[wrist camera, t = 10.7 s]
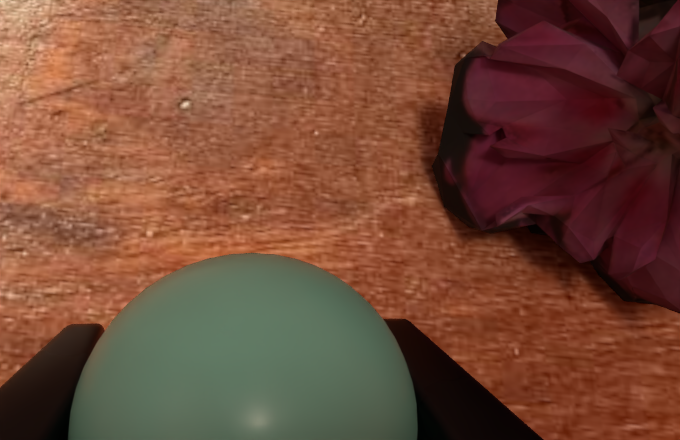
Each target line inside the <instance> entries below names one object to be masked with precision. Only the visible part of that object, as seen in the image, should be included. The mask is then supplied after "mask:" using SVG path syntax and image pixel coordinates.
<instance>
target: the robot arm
mask: <svg viewBox="0 0 680 440" xmlns="http://www.w3.org/2000/svg"><path fill="white" fill-rule="evenodd" d="M383 320H384V321H385V323H386V324H387V326H388V327H389V329H390V331H391V332H392V334H393V335H394V337H395V339H396V341H397V343H398V345H399V347H400V349H401V352H402V354H403V356H404V358H405V361H406V363H407V367H408V370H409V373H410V376H411V379H412V382H413V387H414V393H415V398H416V404H417V424H418V431H417V440H543V439H542V438H541V437H540V436H539V435H538V434H536V433H535V432H534V431H533V430H532V429H531V428H530V427H528V426H527V425H526V424H525V423H524V422H523V421H522V420H521V419H519V418H518V417H517V416H516V415H515V414H514V413H513V412H512V411H510V410H509V409H508V408H507V407H506V406H505V405H504V404H502V403H501V402H500V401H499V400H498V399H497V398H496V397H495V396H493V395H492V394H491V393H490V392H489V391H488V390H487V389H486V388H484V387H483V386H482V385H481V384H480V383H479V382H478V381H476V380H475V379H474V378H473V377H472V376H471V375H470V374H469V373H467V372H466V371H465V370H464V369H463V368H462V367H461V366H459V365H458V364H457V363H456V362H455V361H454V360H453V359H452V358H450V357H449V356H448V355H447V354H446V353H445V352H444V351H443V350H441V349H440V348H439V347H438V346H437V345H436V344H435V343H433V342H432V341H431V340H430V339H429V338H428V337H427V336H426V335H424V334H423V333H422V332H421V331H420V330H419V329H418V328H417V327H415V326H414V325H413V324H412V323H411V322H410V321H408V320H406V319H383ZM104 332H105V331H104V328H103V326H102V325H100V324H71V325H69V326H67V327H65V328H64V329H63V330H62V331H61V332H60V333H59V334H57V335H56V336H55V337H54V338H53V339H52V340H51V341H50V342H49V343H48V344H47V345H46V346H45V347H43V348H42V349H41V350H40V351H39V352H38V353H37V354H36V355H35V356H34V357H33V358H32V359H30V360H29V361H28V362H27V363H26V364H25V365H24V366H23V367H22V368H21V369H20V370H19V371H17V372H16V373H15V374H14V375H13V376H12V377H11V378H10V379H9V380H8V381H7V382H6V383H5V384H3V385H2V386H1V387H0V440H68V433H69V421H70V412H71V408H72V403H73V399H74V394H75V390H76V387H77V384H78V381H79V379H80V376H81V373H82V371H83V368H84V366H85V364H86V362H87V360H88V358H89V356H90V354H91V352H92V351H93V349H94V347H95V345H96V343H97V342H98V340H99V339H100V337H101V336H102V334H103V333H104Z"/></svg>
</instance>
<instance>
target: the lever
mask: <svg viewBox="0 0 680 440" xmlns="http://www.w3.org/2000/svg"><path fill="white" fill-rule="evenodd" d="M417 431H418V424H417V404H416V398H415V393H414V387H413V382H412V379H411V376H410V373H409V370H408V367H407V363H406V361H405V358H404V356H403V354H402V352H401V349H400V347H399V345H398V343H397V341H396V339H395V337H394V335H393V334H392V332H391V331H390V329H389V327H388V326H387V324H386V323H385V321H384V320H383V319H382V317H381V316H380V315H379V314H378V313H377V312H376V310H375V309H374V308H373V307H372V306H371V304H370V303H368V302H367V301H366V300H365V299H364V298H363V297H362V296H361V295H360V294H359V293H357V292H356V291H355V290H354V289H353V288H352V287H351V286H349V285H348V284H346V283H345V282H343V281H342V280H341V279H339V278H338V277H336V276H335V275H333V274H331V273H329V272H327V271H325V270H323V269H321V268H319V267H317V266H315V265H312V264H309V263H306V262H303V261H300V260H297V259H294V258H289V257H284V256H279V255H274V254H260V253H245V254H230V255H224V256H219V257H214V258H209V259H206V260H203V261H199V262H196V263H193V264H190V265H187V266H185V267H183V268H181V269H179V270H177V271H175V272H172V273H170V274H168V275H166V276H164V277H163V278H161V279H160V280H158V281H157V282H155V283H154V284H152V285H150V286H149V287H147V288H146V289H145V290H144V291H142V292H141V293H140V294H139V295H138V296H136V297H135V298H134V299H133V300H132V301H130V302H129V303H128V304H127V305H126V306H125V307H124V308H123V310H122V311H121V312H120V313H119V314H118V315H117V316H116V317H115V318H114V319H113V320H112V322H111V323H110V325H109V326H108V327H107V329H106V330H105V332H104V333H103V334H102V336H101V337H100V339H99V340H98V342H97V343H96V345H95V347H94V349H93V351H92V352H91V354H90V356H89V358H88V360H87V362H86V364H85V366H84V368H83V371H82V373H81V376H80V379H79V381H78V384H77V387H76V390H75V394H74V399H73V403H72V408H71V412H70V421H69V433H68V440H417Z"/></svg>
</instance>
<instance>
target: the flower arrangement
mask: <svg viewBox="0 0 680 440" xmlns="http://www.w3.org/2000/svg"><path fill="white" fill-rule="evenodd" d="M495 21H496V23H497V24H498V25H499V27H500V28H501V30H502V31H503V33H504V34H505V35H506V37H507V38H508V40H506V41H504V42H502V43H500V44H499V45H498V46H497V47H496V46H493V45H491V44H488V43H486V42H483V41H482V42H481V43H480V44H479V45H477V46H476V47H475V48H474V49H473V50H472V51H471V52H469V53H468V54H467V55H466V56H465V57H464V58H463V59H461V60H460V61H459V62H458V63H457V64H456V65H455V68H454V74H453V80H452V86H451V92H450V97H449V103H448V109H447V114H446V118H445V123H444V128H443V133H442V138H441V142H440V147H439V152H438V154H437V156H436V159H435V161H434V163H433V165H432V168H433V172H434V175H435V178H436V181H437V184H438V188H439V191H440V194H441V197H442V200H443V204H444V207H446V208H447V209H448V210H449V211H450V212H452V213H453V214H454V215H455V216H457V217H458V218H459V219H460V220H461V221H463V222H464V223H465V224H466V225H467V226H469V227H471V228H475V229H478V230H481V231H484V232H488V233H494V232H499V231H504V230H509V229H514V228H519V227H523V226H528V228H529V230H530V232H531V233H536V234H543V235H549V236H550V237H551V238H552V239H553V240H554V241H555V242H556V243H557V244H558V245H559V246H560V247H561V248H562V249H564V250H565V251H566V252H567V253H569V254H570V255H571V256H572V257H573V258H575V259H576V260H577V261H578V262H579V263H584V262H587V261H590V262H591V264H592V265H593V267H594V269H595V270H596V272H597V273H598V275H599V276H600V277H601V278H602V279H603V280H604V281H605V282H606V283H607V284H608V285H609V286H610V287H611V288H612V289H613V290H614V291H615V292H616V293H617V294H618V295H619V296H620V297H621V298H622V299H623V300H624V301H630V302H639V303H648V304H657V305H659V306H662V307H665V308H667V309H670V310H672V311H675V312H678V313H680V0H498V6H497V12H496V19H495Z"/></svg>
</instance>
